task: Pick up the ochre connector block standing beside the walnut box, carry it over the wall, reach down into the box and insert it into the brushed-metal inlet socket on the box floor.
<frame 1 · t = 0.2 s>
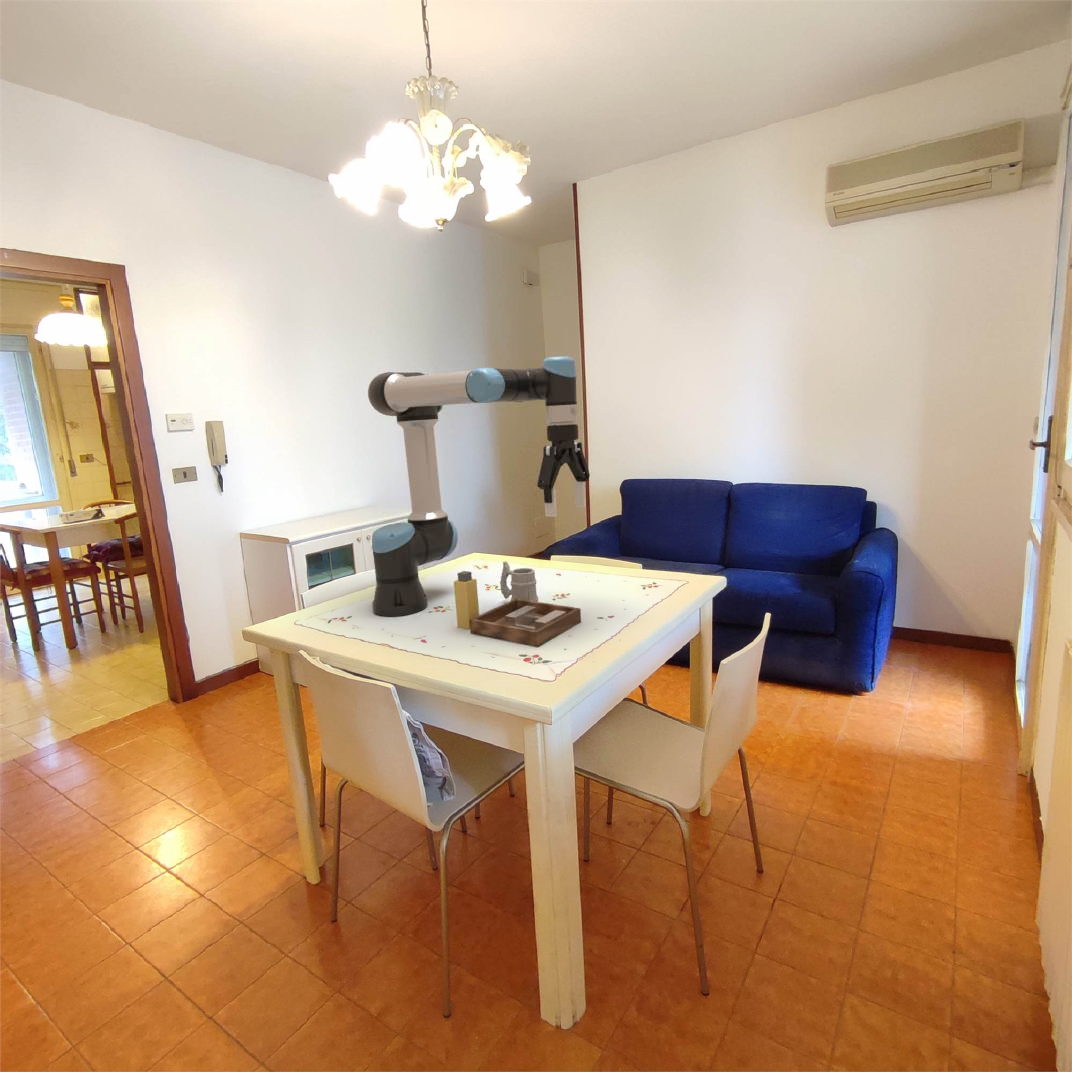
hand: (566, 511, 153), 28 cm above the table, fingers open, 13 cm apart
mug: (518, 605, 173), on the table
box: (526, 627, 154), on the table
connector: (468, 626, 157), on the table
inlet: (536, 629, 152), resting on box
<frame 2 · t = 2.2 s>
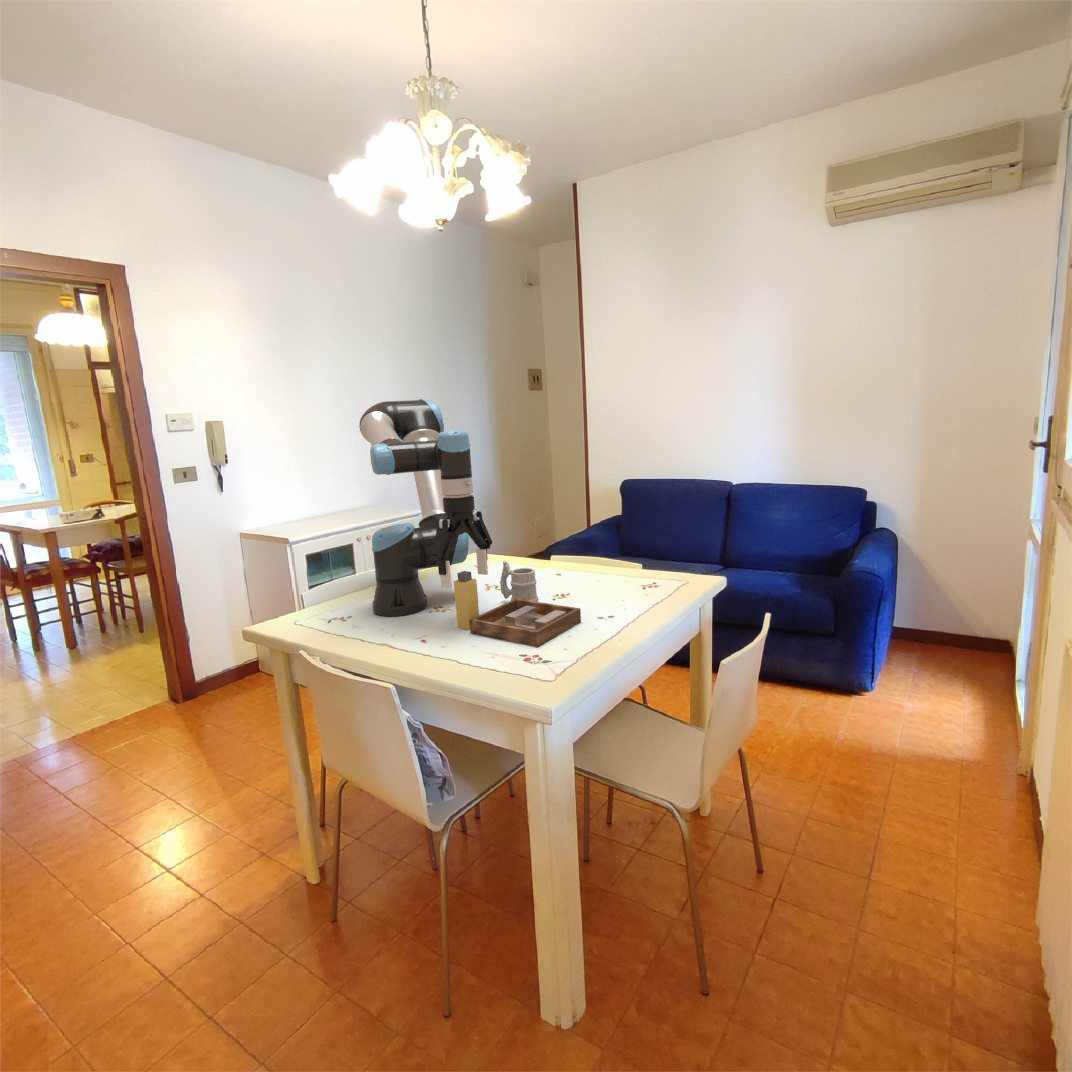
hand: (465, 580, 155), 12 cm above the table, fingers open, 13 cm apart
nothing on the table moved.
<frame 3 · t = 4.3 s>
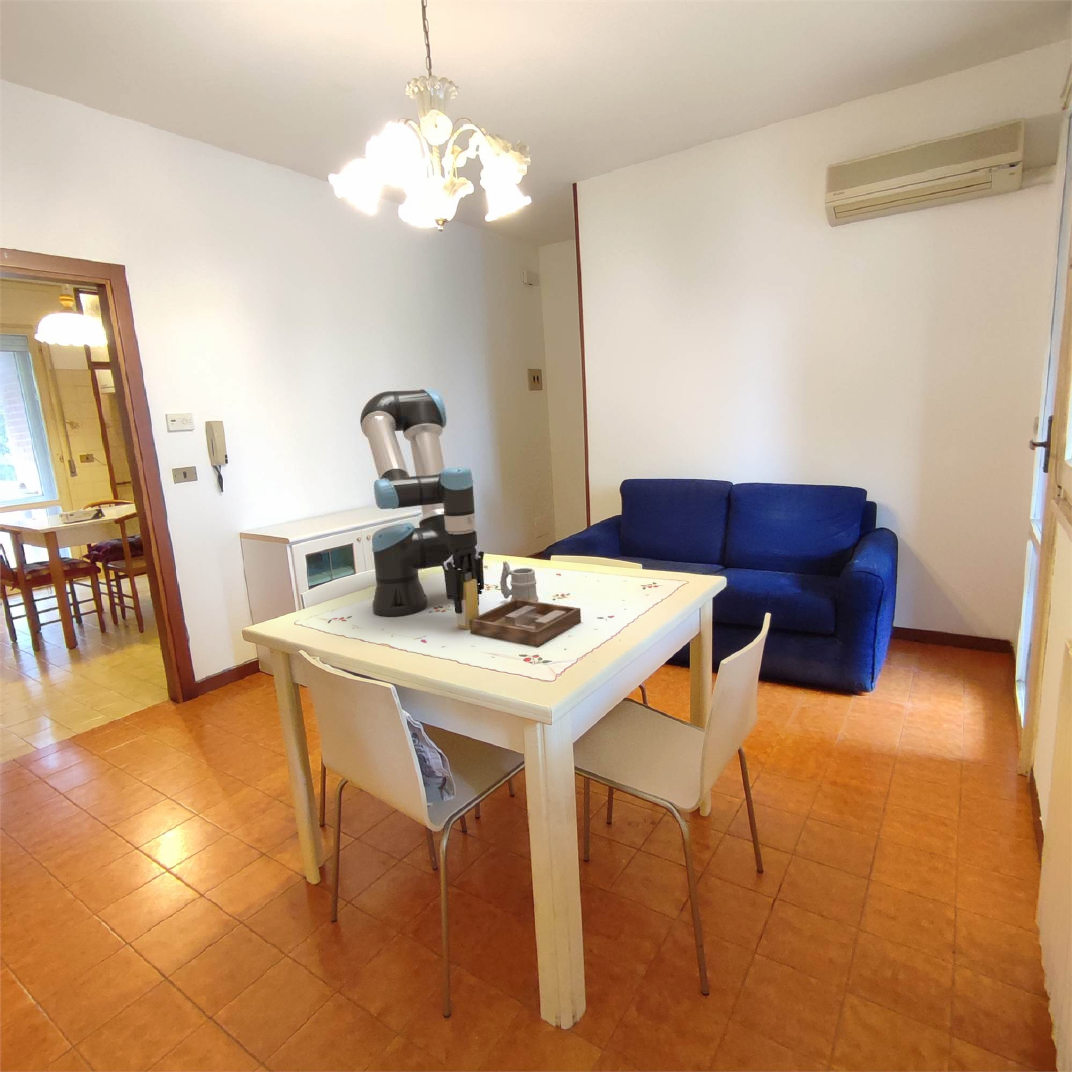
hand: (468, 621, 157), 1 cm above the table, fingers closed on connector, 4 cm apart
connector: (468, 626, 157), on the table, touching gripper
everything else where it was.
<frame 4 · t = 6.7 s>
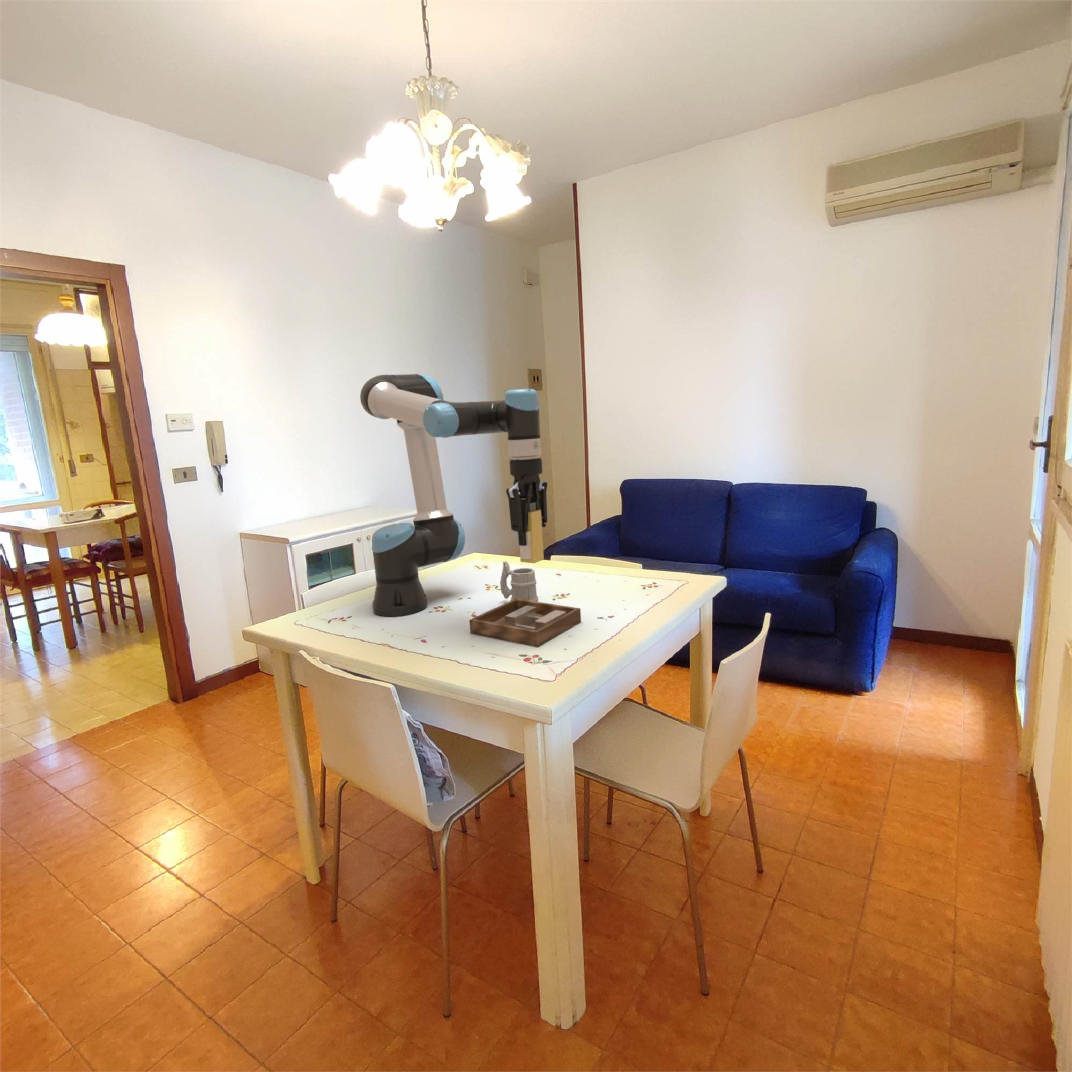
hand: (531, 556, 148), 18 cm above the table, fingers closed on connector, 4 cm apart
connector: (532, 560, 148), point 17 cm above the table, touching gripper
everything else where it was.
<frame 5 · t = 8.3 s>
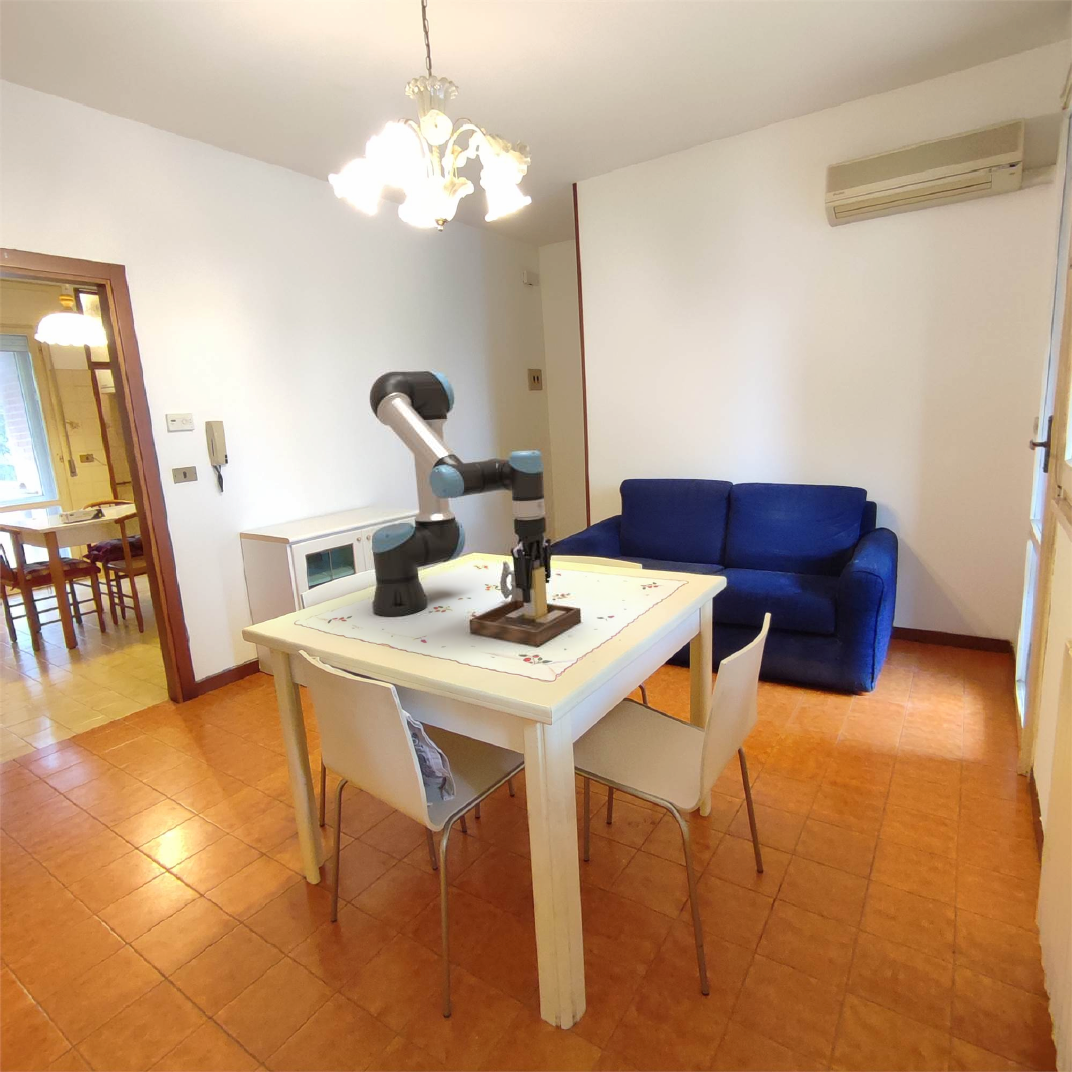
hand: (535, 611, 151), 5 cm above the table, fingers closed on connector, 4 cm apart
connector: (536, 616, 151), point 3 cm above the table, touching gripper
everything else where it was.
when the fingers open (4 cm above the table, at t = 9.3 s): connector drops 2 cm, resting on box.
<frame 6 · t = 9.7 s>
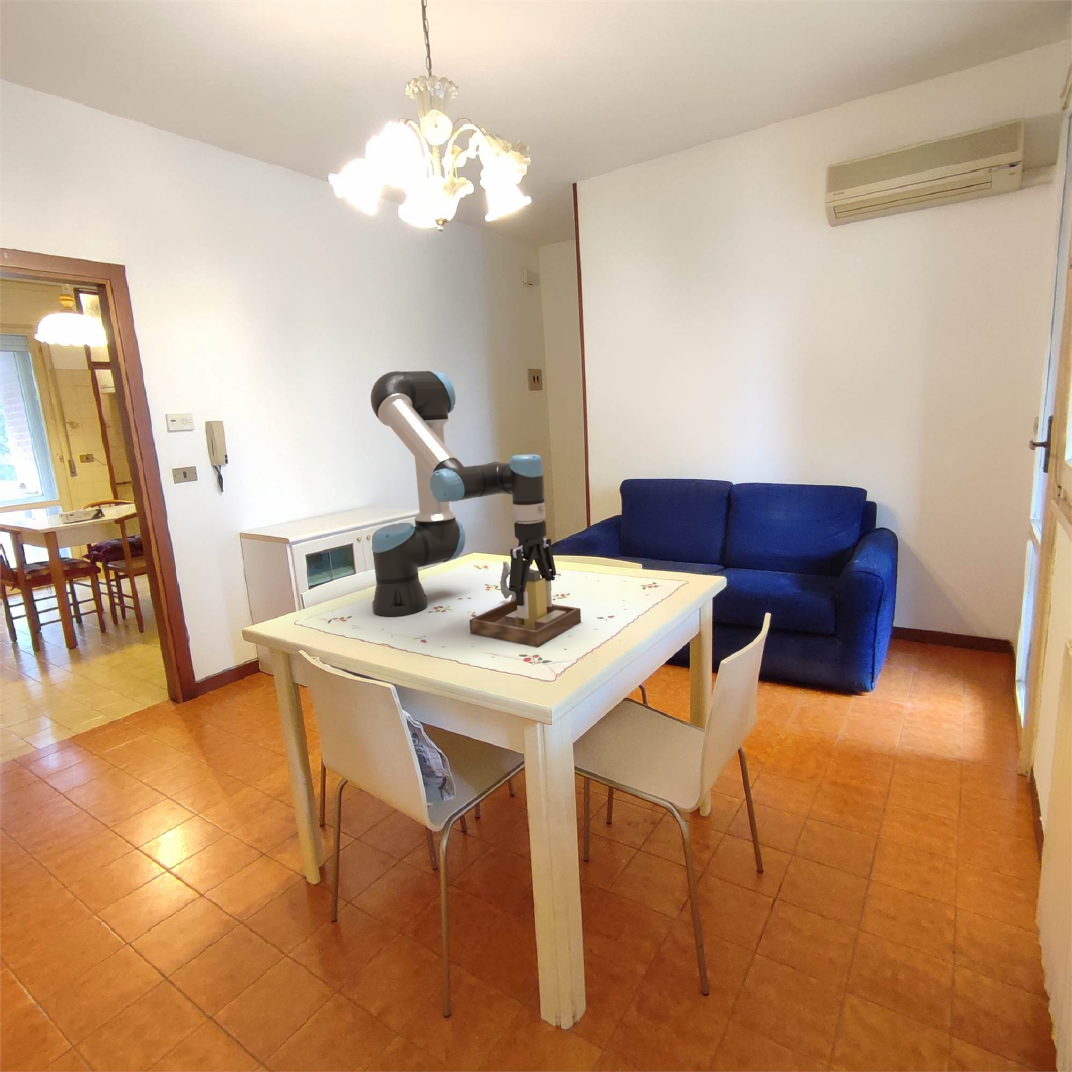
hand: (535, 611, 151), 5 cm above the table, fingers open, 9 cm apart
connector: (536, 627, 152), point 1 cm above the table, touching box
everything else where it was.
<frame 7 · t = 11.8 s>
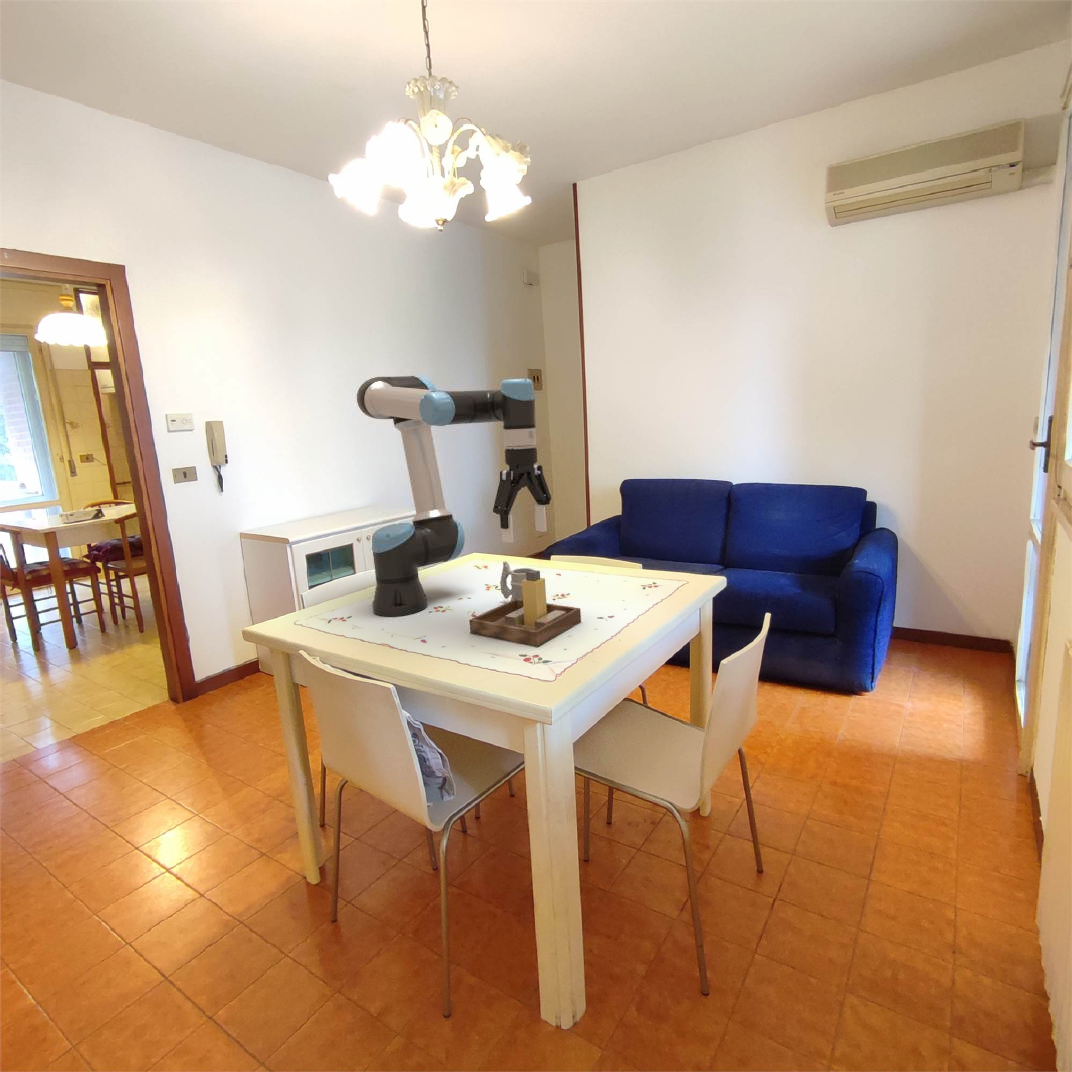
hand: (525, 536, 149), 23 cm above the table, fingers open, 13 cm apart
nothing on the table moved.
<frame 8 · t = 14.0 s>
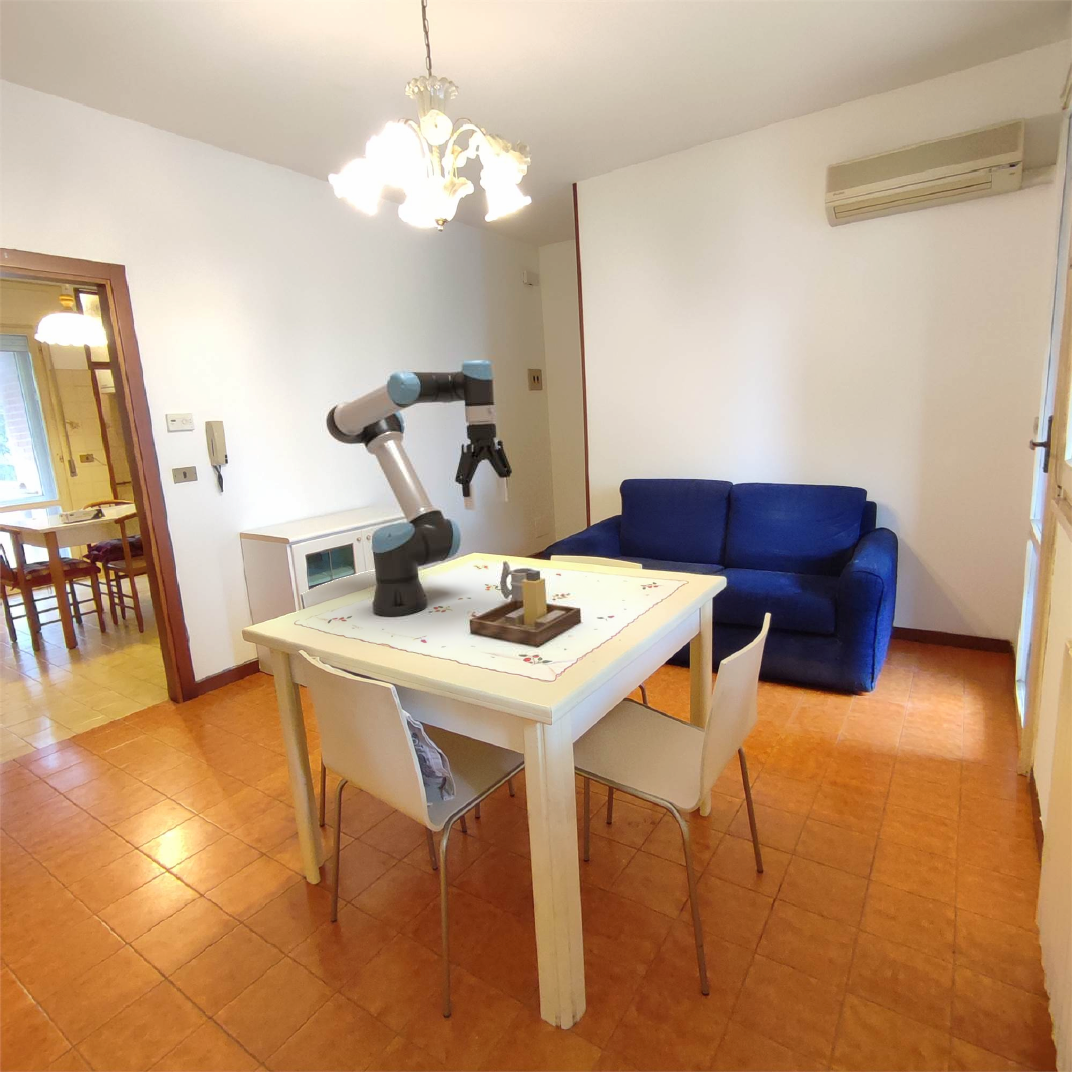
hand: (487, 505, 163), 29 cm above the table, fingers open, 13 cm apart
nothing on the table moved.
at the end: connector 0.0 cm off-centre on the inlet, point 0.6 cm above the inlet's base; connector tilted 0°; the gripper is holding nothing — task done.
